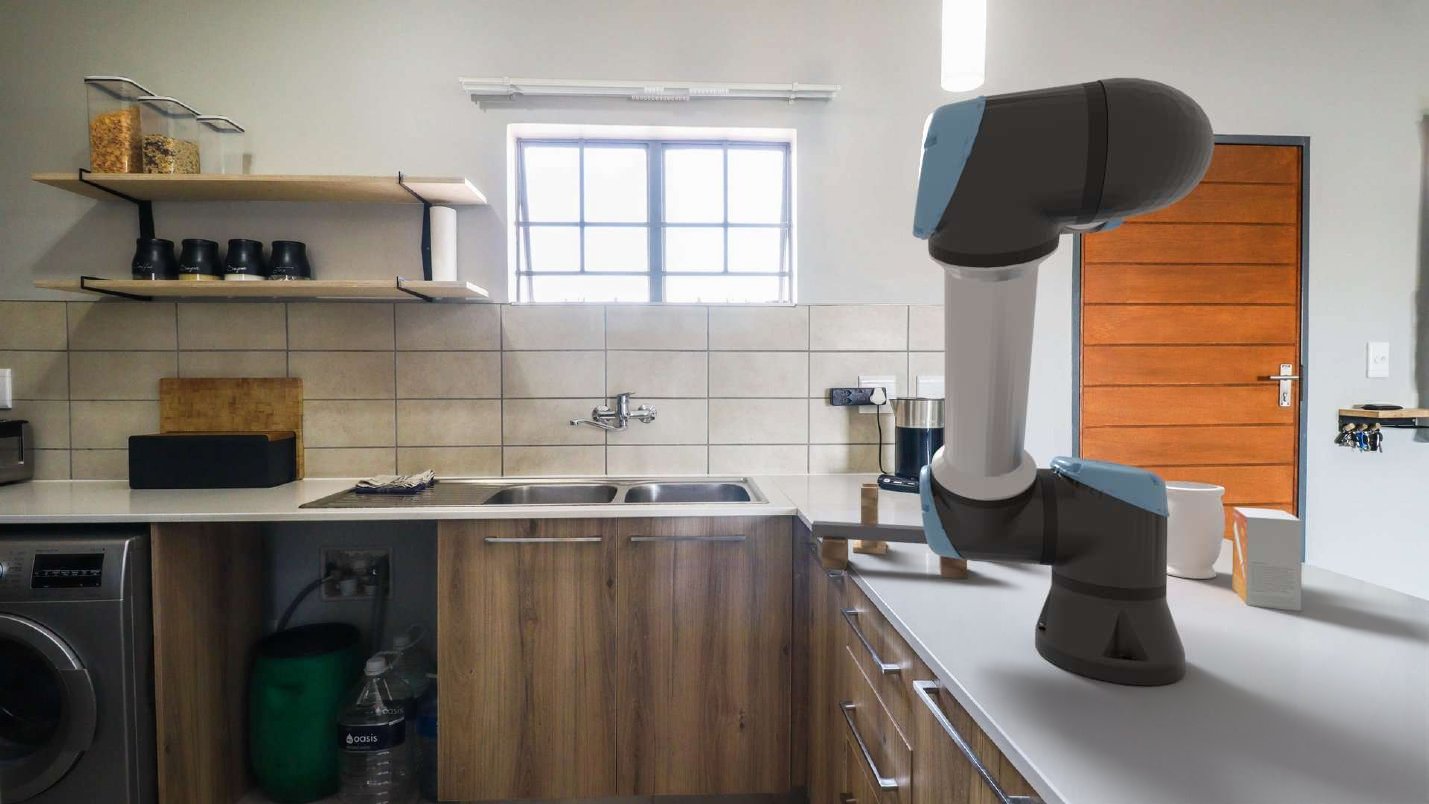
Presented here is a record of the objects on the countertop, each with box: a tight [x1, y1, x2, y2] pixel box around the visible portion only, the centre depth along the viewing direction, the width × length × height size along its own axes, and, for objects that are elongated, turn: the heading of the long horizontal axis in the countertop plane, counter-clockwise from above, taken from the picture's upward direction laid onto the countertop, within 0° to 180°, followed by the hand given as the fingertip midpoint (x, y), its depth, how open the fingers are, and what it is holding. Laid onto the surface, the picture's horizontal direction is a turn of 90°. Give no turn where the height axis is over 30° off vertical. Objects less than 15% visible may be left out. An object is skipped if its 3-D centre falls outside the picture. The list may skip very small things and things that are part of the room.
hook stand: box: [852, 482, 887, 555], centre depth 124 cm, size 27×8×12 cm, turn 73°
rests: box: [821, 538, 968, 580], centre depth 113 cm, size 24×7×5 cm, turn 73°
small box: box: [1231, 506, 1303, 612], centre depth 95 cm, size 8×6×13 cm
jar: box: [1163, 480, 1226, 580], centre depth 109 cm, size 11×10×15 cm
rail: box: [811, 520, 928, 545], centre depth 113 cm, size 28×3×2 cm, turn 73°
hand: (975, 423), depth 104 cm, fingers open, 13 cm apart
